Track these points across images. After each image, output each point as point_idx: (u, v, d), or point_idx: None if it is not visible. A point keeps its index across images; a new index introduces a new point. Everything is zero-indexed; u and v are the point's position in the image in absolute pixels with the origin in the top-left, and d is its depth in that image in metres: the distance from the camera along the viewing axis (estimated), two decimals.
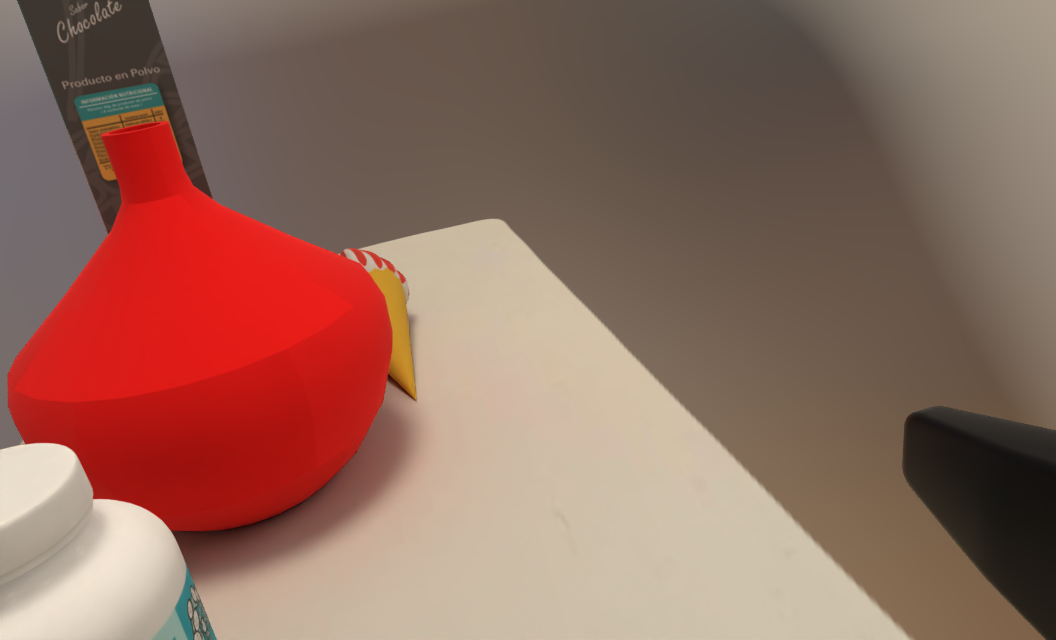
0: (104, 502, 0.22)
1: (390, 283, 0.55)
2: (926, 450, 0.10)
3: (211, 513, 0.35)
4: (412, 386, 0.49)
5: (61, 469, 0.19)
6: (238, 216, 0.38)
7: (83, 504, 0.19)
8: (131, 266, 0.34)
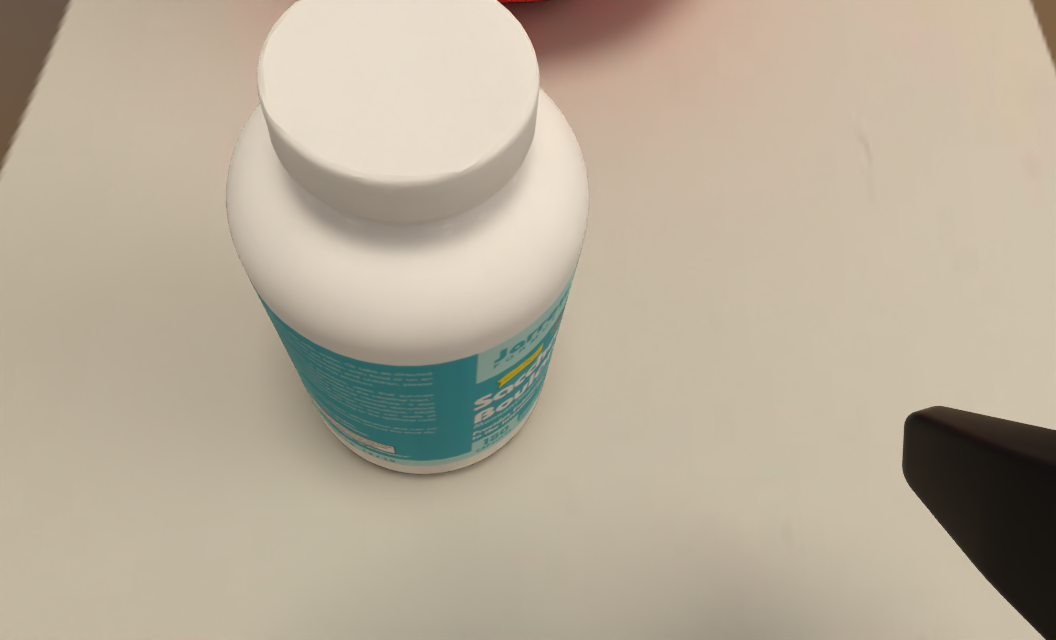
0: None
1: None
2: (926, 450, 0.10)
3: None
4: None
5: (522, 68, 0.13)
6: None
7: (536, 124, 0.14)
8: None
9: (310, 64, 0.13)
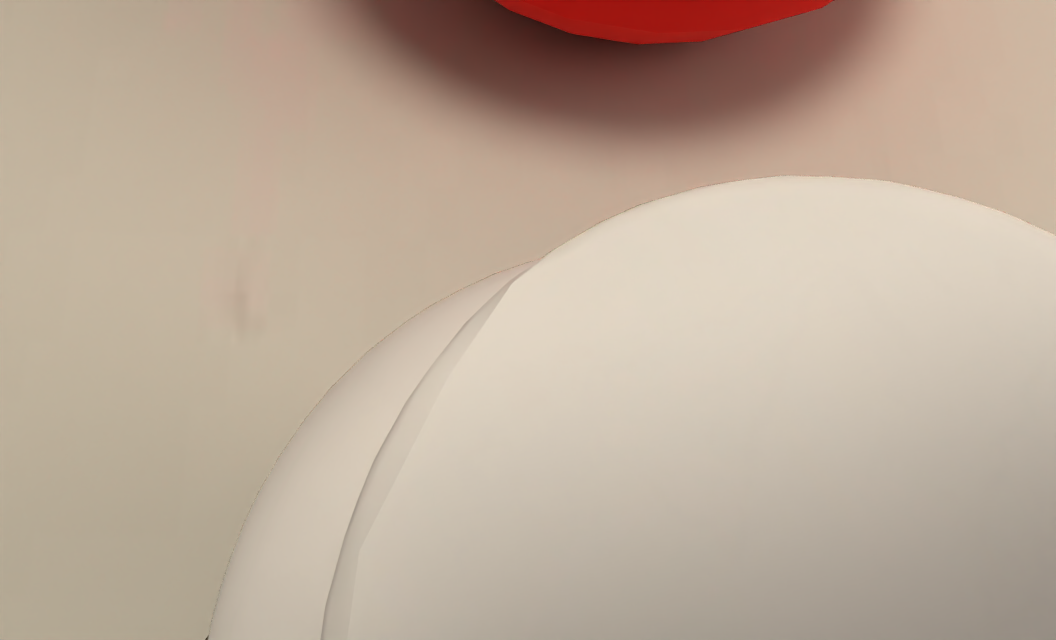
0: None
1: None
2: None
3: (613, 29, 0.18)
4: None
5: None
6: None
7: None
8: None
9: None
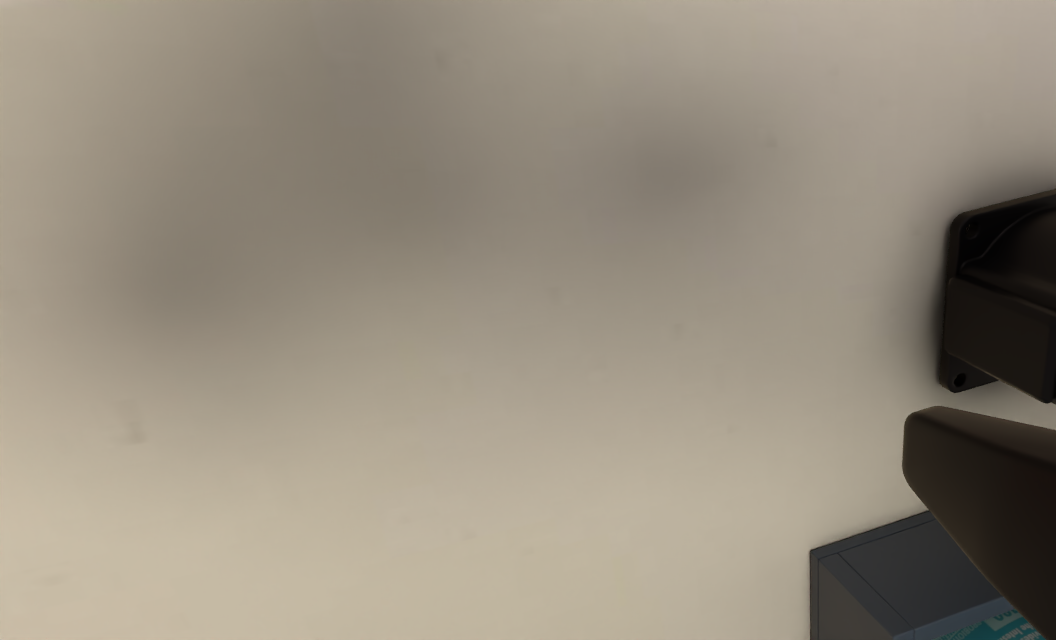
0: None
1: None
2: (926, 450, 0.10)
3: None
4: None
5: None
6: None
7: None
8: None
9: None
